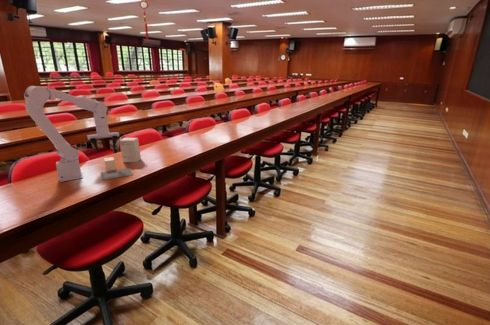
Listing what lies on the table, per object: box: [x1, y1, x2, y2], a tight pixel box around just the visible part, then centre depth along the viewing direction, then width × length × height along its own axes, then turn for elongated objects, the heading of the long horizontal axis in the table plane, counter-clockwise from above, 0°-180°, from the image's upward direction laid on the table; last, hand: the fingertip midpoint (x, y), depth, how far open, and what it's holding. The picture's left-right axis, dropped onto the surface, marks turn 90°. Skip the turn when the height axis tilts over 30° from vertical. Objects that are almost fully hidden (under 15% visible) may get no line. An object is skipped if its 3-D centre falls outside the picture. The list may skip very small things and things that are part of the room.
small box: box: [119, 137, 142, 163], centre depth 156 cm, size 8×6×13 cm
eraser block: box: [103, 156, 117, 172], centre depth 144 cm, size 4×6×6 cm
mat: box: [100, 167, 134, 181], centre depth 138 cm, size 14×12×1 cm
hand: (106, 151), depth 143 cm, fingers open, 7 cm apart
